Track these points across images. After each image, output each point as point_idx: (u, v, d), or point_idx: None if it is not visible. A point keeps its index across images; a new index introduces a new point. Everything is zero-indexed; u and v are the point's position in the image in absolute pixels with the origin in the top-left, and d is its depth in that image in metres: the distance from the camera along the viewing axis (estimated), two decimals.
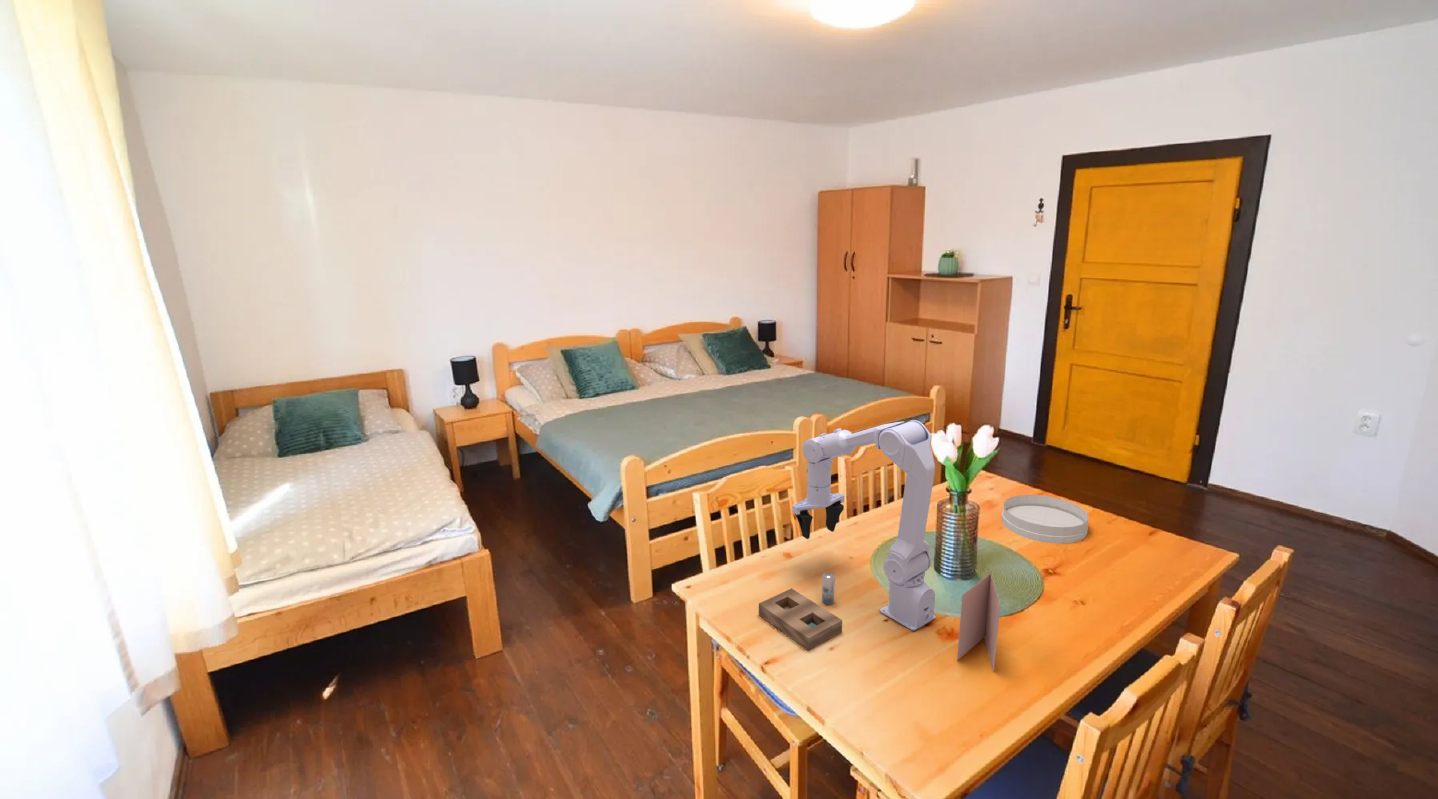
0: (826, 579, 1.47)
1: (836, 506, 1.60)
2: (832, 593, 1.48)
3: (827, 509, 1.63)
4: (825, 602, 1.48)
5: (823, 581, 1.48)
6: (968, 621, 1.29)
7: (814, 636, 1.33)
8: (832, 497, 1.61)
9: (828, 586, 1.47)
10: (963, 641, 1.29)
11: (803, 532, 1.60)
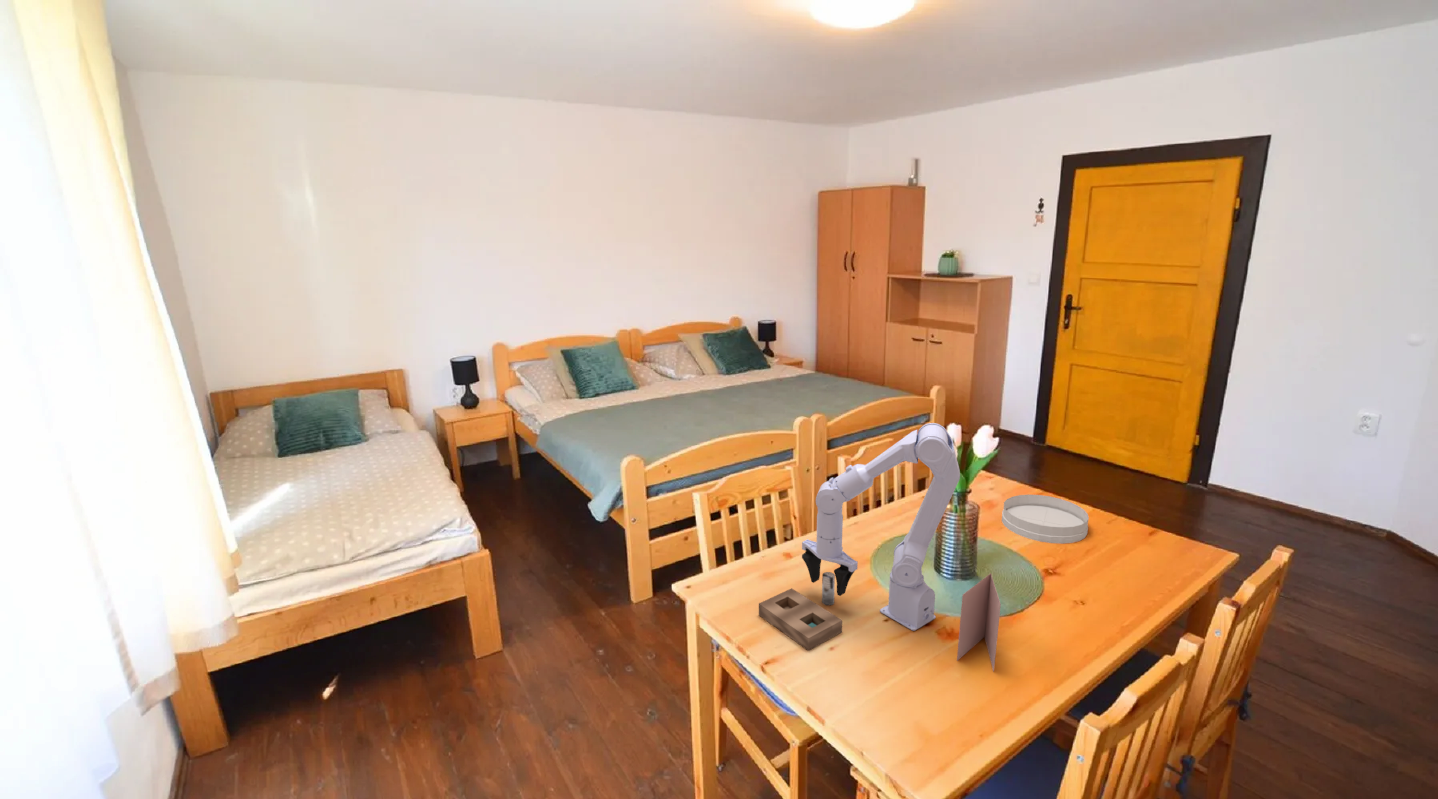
0: (826, 579, 1.47)
1: (838, 569, 1.43)
2: (832, 593, 1.48)
3: None
4: (825, 602, 1.48)
5: (823, 581, 1.48)
6: (968, 621, 1.29)
7: (814, 636, 1.33)
8: (842, 559, 1.43)
9: (828, 586, 1.47)
10: (963, 641, 1.29)
11: None
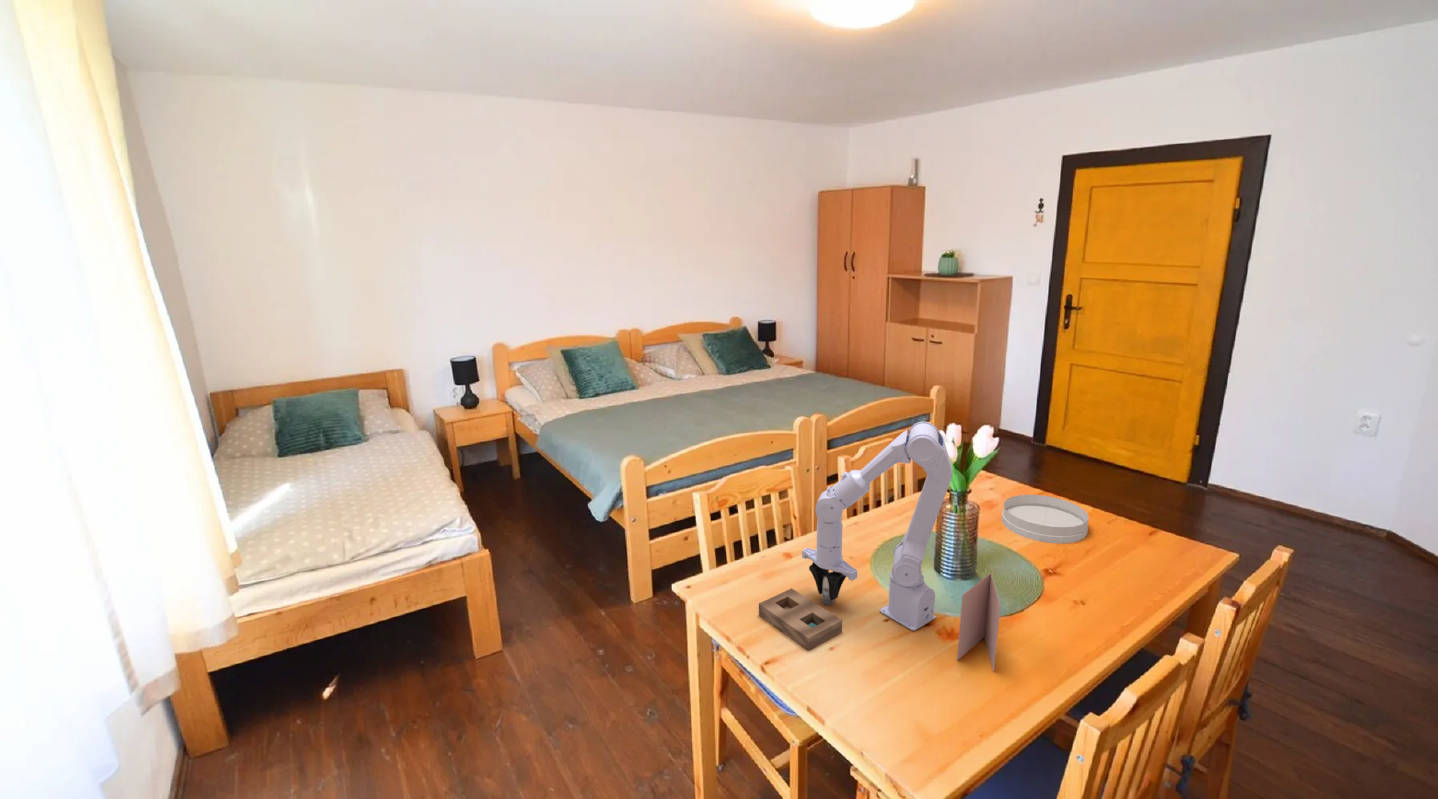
0: (826, 579, 1.47)
1: (831, 574, 1.45)
2: None
3: None
4: (825, 602, 1.48)
5: (823, 581, 1.48)
6: (968, 621, 1.29)
7: (814, 636, 1.33)
8: (842, 567, 1.44)
9: (828, 586, 1.47)
10: (963, 641, 1.29)
11: None
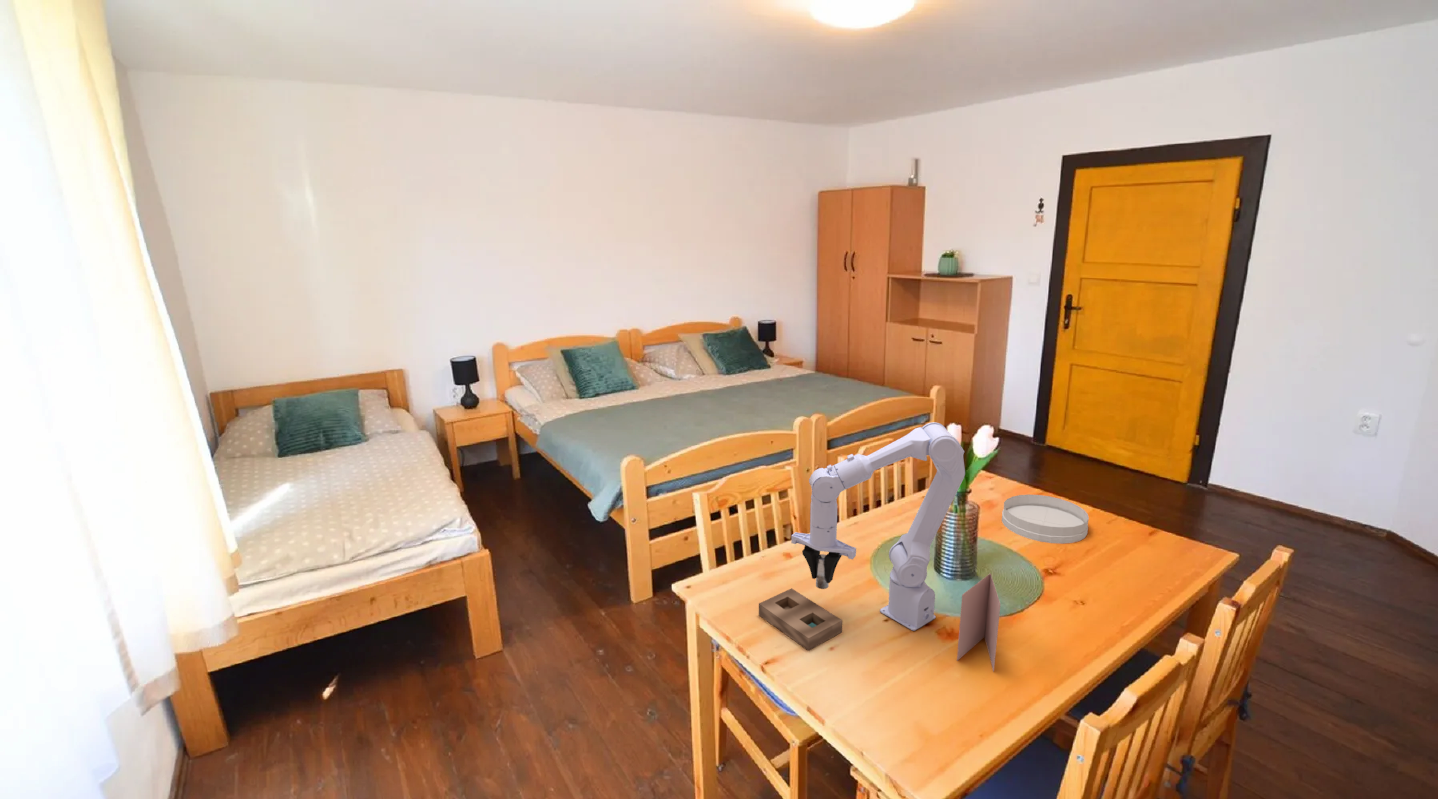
0: (821, 561, 1.41)
1: (828, 555, 1.39)
2: None
3: None
4: (821, 586, 1.42)
5: (818, 564, 1.41)
6: (968, 621, 1.29)
7: (814, 636, 1.33)
8: (840, 547, 1.38)
9: (824, 569, 1.41)
10: (963, 641, 1.29)
11: None
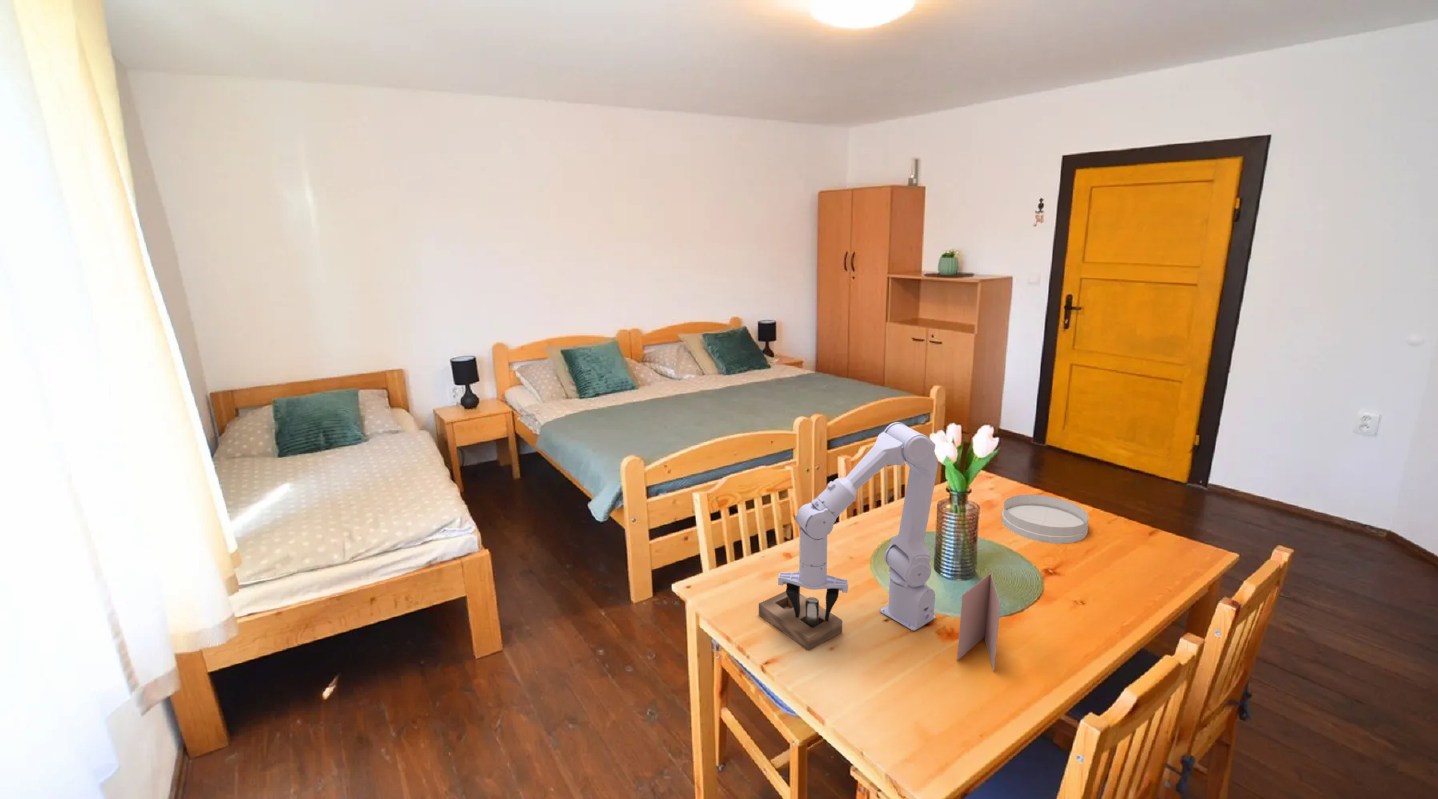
0: (813, 606, 1.35)
1: (828, 593, 1.33)
2: (818, 618, 1.37)
3: None
4: None
5: (809, 609, 1.36)
6: (968, 621, 1.29)
7: (814, 636, 1.33)
8: (832, 582, 1.34)
9: (815, 613, 1.36)
10: (963, 641, 1.29)
11: None
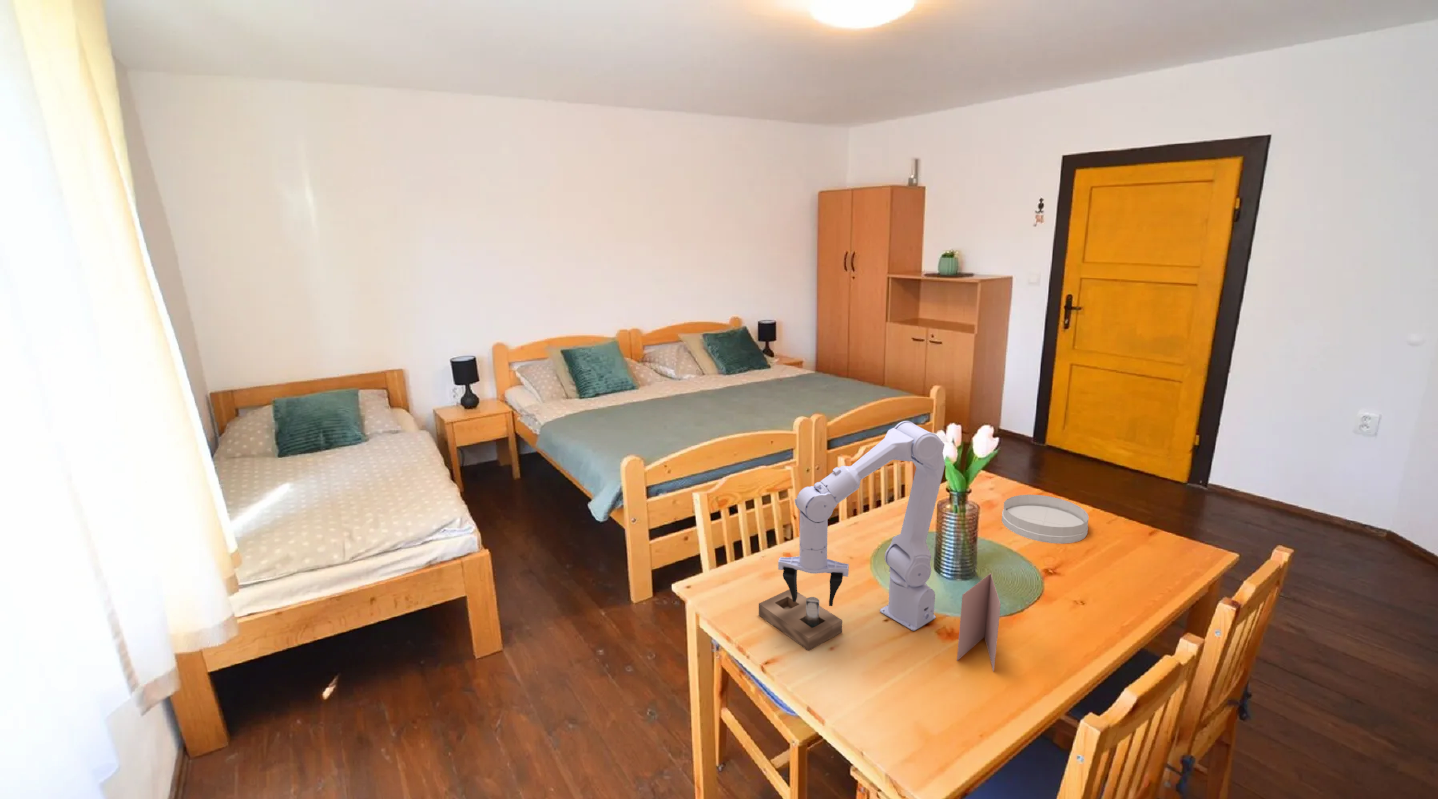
0: (813, 605, 1.35)
1: (832, 577, 1.32)
2: (818, 618, 1.37)
3: None
4: None
5: (809, 609, 1.36)
6: (968, 621, 1.29)
7: (814, 636, 1.33)
8: (832, 566, 1.33)
9: (816, 613, 1.36)
10: (963, 641, 1.29)
11: None
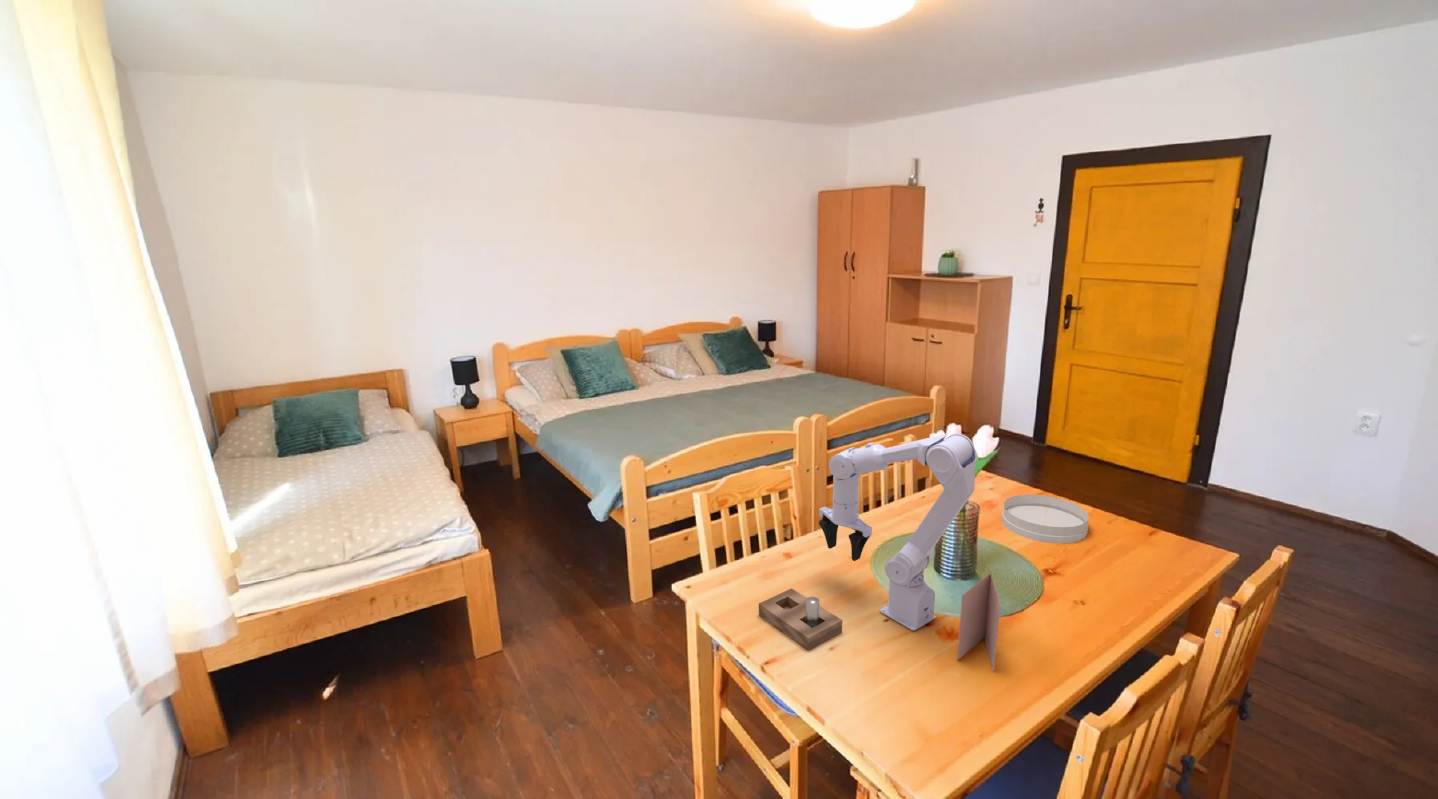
0: (813, 605, 1.35)
1: (853, 534, 1.46)
2: (818, 618, 1.37)
3: None
4: None
5: (810, 608, 1.36)
6: (968, 621, 1.29)
7: (814, 636, 1.33)
8: (857, 524, 1.47)
9: (816, 613, 1.36)
10: (963, 641, 1.29)
11: None
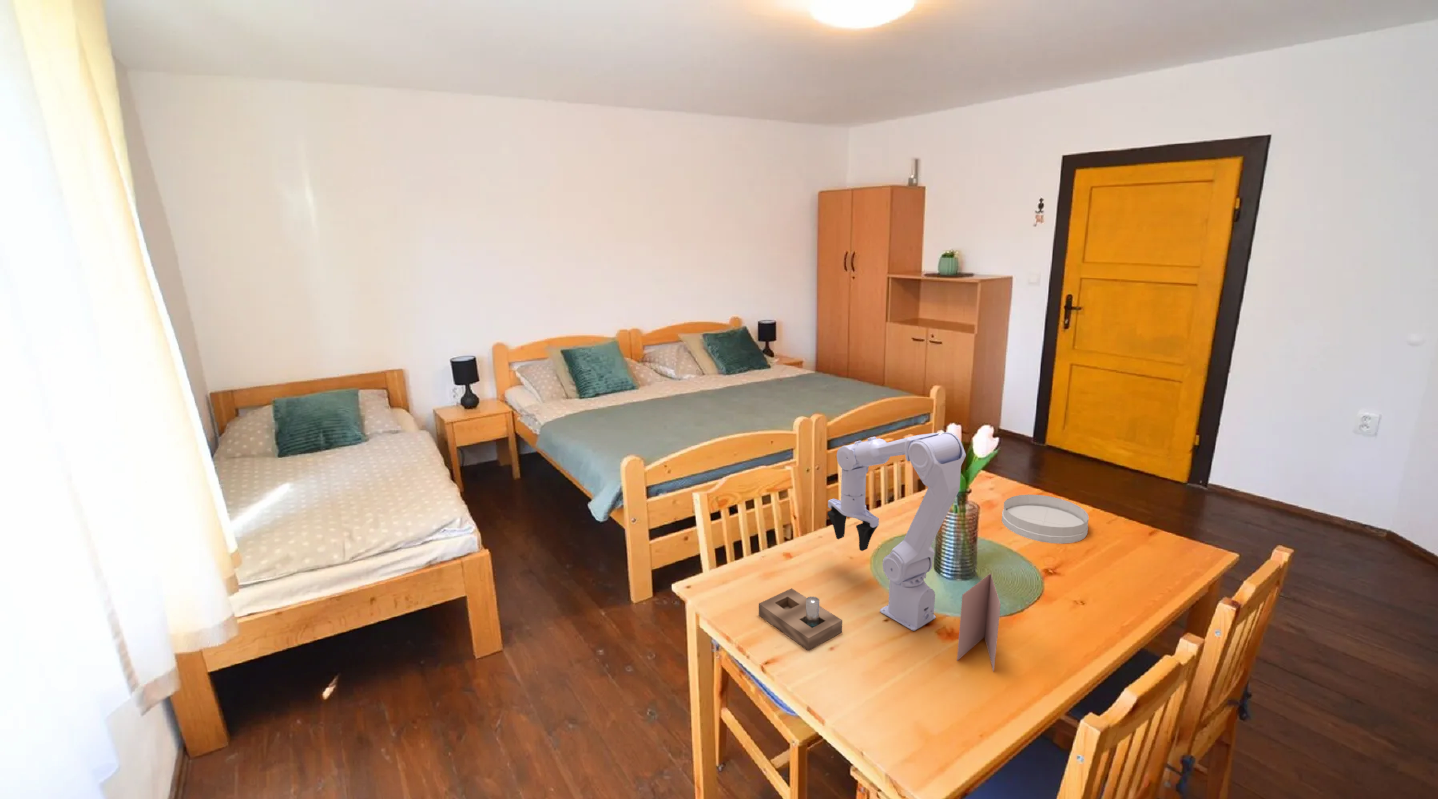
0: (813, 604, 1.36)
1: (860, 524, 1.51)
2: (818, 618, 1.37)
3: None
4: None
5: (809, 608, 1.36)
6: (968, 621, 1.29)
7: (814, 636, 1.33)
8: (865, 515, 1.51)
9: (816, 612, 1.36)
10: (963, 641, 1.29)
11: None
